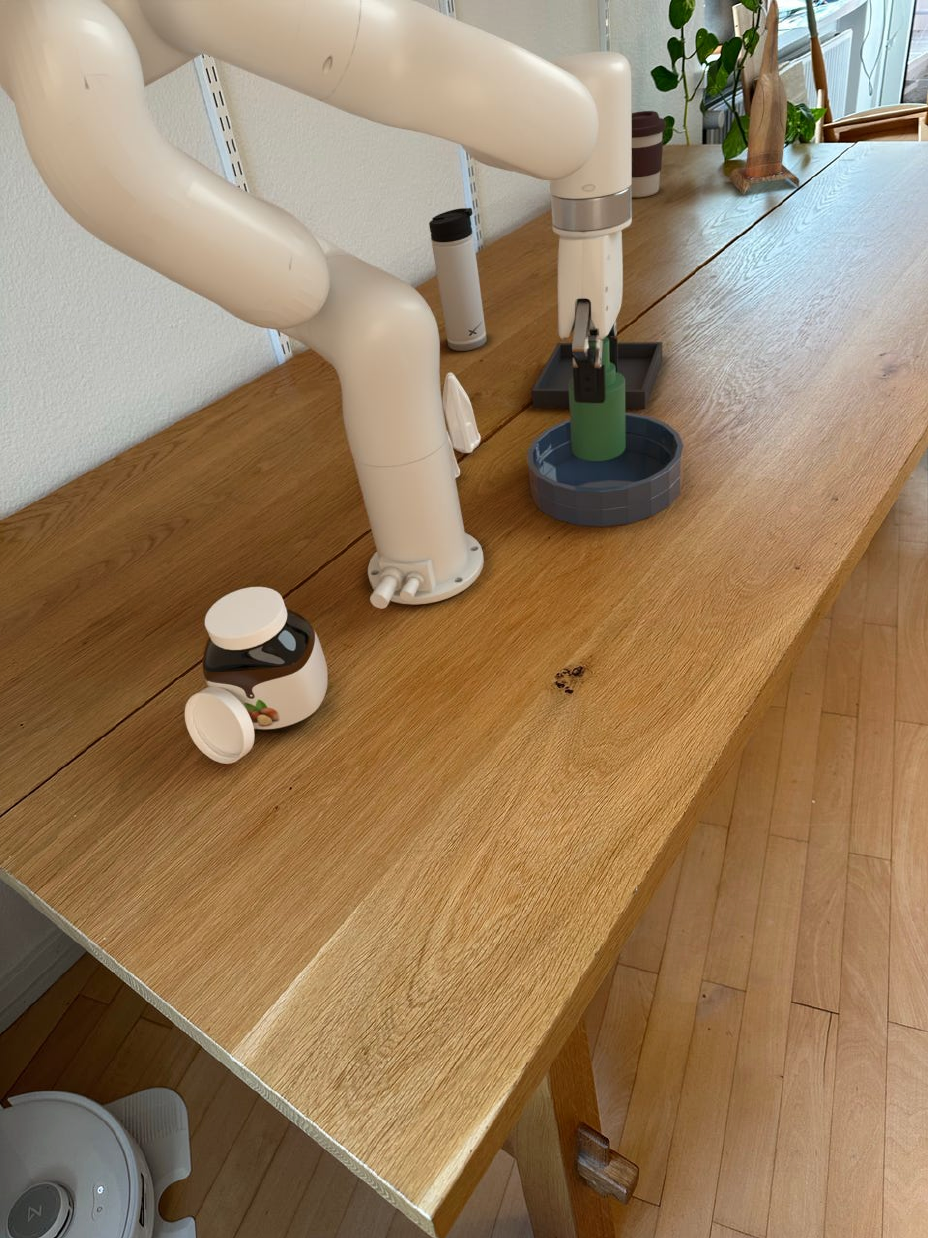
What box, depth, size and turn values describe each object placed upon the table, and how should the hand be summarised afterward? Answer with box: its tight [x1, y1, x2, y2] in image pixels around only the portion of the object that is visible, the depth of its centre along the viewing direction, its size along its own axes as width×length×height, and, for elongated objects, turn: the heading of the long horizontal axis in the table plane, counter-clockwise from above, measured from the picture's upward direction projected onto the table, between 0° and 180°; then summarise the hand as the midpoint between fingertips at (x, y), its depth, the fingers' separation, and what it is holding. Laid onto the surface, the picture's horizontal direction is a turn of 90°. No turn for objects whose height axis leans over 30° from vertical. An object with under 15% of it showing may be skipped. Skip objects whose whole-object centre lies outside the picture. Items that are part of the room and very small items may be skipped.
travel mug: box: [428, 207, 487, 352], centre depth 133 cm, size 6×7×20 cm
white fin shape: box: [442, 372, 482, 479], centre depth 107 cm, size 12×4×11 cm, turn 156°
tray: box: [531, 341, 663, 410], centre depth 121 cm, size 15×15×3 cm
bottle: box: [568, 337, 626, 461], centre depth 94 cm, size 6×6×12 cm
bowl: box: [526, 412, 685, 528], centre depth 100 cm, size 17×17×5 cm
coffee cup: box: [632, 110, 667, 199], centre depth 183 cm, size 10×10×15 cm
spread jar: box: [184, 586, 329, 765], centre depth 76 cm, size 12×11×12 cm
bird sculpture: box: [729, 0, 800, 196], centre depth 169 cm, size 11×12×32 cm
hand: (596, 385), depth 93 cm, fingers closed on bottle, 6 cm apart
